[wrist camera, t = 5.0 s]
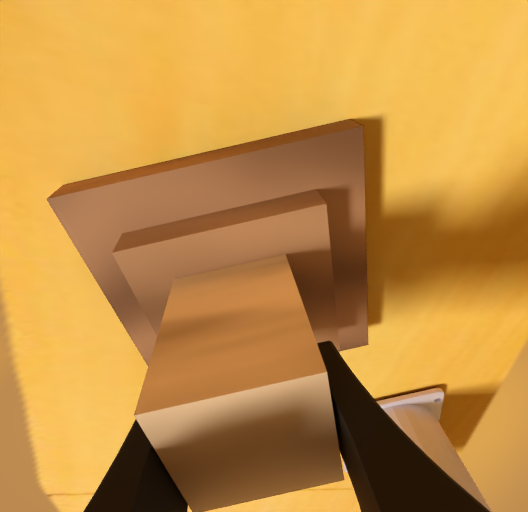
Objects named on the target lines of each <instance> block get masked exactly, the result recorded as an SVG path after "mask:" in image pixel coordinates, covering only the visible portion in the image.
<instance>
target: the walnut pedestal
mask: <svg viewBox="0 0 528 512" xmlns="http://www.w3.org/2000/svg"><path fill="white" fill-rule="evenodd" d="M47 201H48V202H49V204H50V206H51V207H52V209H53V211H54V212H55V214H56V216H57V217H58V219H59V220H60V222H61V224H62V225H63V227H64V229H65V230H66V232H67V234H68V235H69V237H70V239H71V240H72V242H73V244H74V245H75V247H76V248H77V250H78V252H79V253H80V255H81V257H82V258H83V260H84V262H85V263H86V265H87V267H88V268H89V270H90V271H91V273H92V275H93V276H94V278H95V280H96V281H97V283H98V285H99V286H100V288H101V290H102V291H103V293H104V295H105V296H106V298H107V299H108V301H109V303H110V304H111V306H112V308H113V309H114V311H115V313H116V314H117V316H118V318H119V319H120V321H121V322H122V324H123V326H124V327H125V329H126V331H127V332H128V334H129V336H130V337H131V339H132V341H133V342H134V344H135V346H136V347H137V349H138V350H139V352H140V354H141V355H142V357H143V359H144V360H145V362H146V364H147V365H148V366H149V363H150V359H151V356H152V353H153V349H154V346H155V342H156V339H157V335H158V332H159V329H160V325H161V322H162V318H163V315H164V312H165V308H166V305H167V301H168V298H169V295H170V291H171V288H172V284H173V281H174V280H175V279H179V278H184V277H188V276H192V275H197V274H201V273H205V272H210V271H214V270H219V269H223V268H227V267H232V266H236V265H240V264H245V263H249V262H254V261H258V260H262V259H267V258H271V257H275V256H280V255H284V254H286V257H287V260H288V263H289V265H290V268H291V271H292V274H293V277H294V280H295V282H296V285H297V288H298V291H299V294H300V297H301V300H302V302H303V305H304V308H305V311H306V314H307V317H308V319H309V322H310V325H311V328H312V331H313V334H314V336H315V339H316V342H317V343H320V342H325V341H331V342H333V344H334V346H335V347H336V349H337V350H338V351H343V350H347V349H352V348H356V347H361V346H365V345H368V309H367V263H366V217H365V171H364V126H362V125H360V124H358V123H356V122H354V121H352V120H350V119H348V120H344V121H339V122H335V123H331V124H326V125H322V126H318V127H313V128H309V129H305V130H300V131H296V132H292V133H287V134H283V135H279V136H274V137H270V138H265V139H261V140H257V141H252V142H248V143H244V144H239V145H235V146H231V147H226V148H222V149H218V150H213V151H209V152H205V153H200V154H196V155H192V156H187V157H183V158H179V159H174V160H170V161H166V162H161V163H157V164H153V165H148V166H144V167H139V168H135V169H131V170H126V171H122V172H118V173H113V174H109V175H105V176H100V177H96V178H92V179H87V180H83V181H79V182H74V183H70V184H66V185H63V186H61V187H60V188H59V189H58V190H57V191H55V192H54V193H53V194H52V195H51V196H50V197H48V198H47Z"/></svg>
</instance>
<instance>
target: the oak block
mask: <svg viewBox="0 0 528 512" xmlns="http://www.w3.org/2000/svg"><path fill="white" fill-rule="evenodd" d="M134 416H135V418H136V420H137V421H138V423H139V425H140V426H141V428H142V430H143V431H144V433H145V435H146V436H147V438H148V439H149V441H150V443H151V444H152V446H153V448H154V449H155V451H156V453H157V454H158V456H159V458H160V459H161V461H162V463H163V464H164V466H165V467H166V469H167V471H168V472H169V474H170V476H171V477H172V479H173V481H174V482H175V484H176V486H177V487H178V489H179V490H180V492H181V494H182V495H183V497H184V499H185V500H186V502H187V504H188V505H189V507H190V509H191V510H192V512H204V511H208V510H213V509H217V508H222V507H226V506H231V505H235V504H239V503H244V502H248V501H253V500H257V499H262V498H266V497H271V496H275V495H280V494H284V493H288V492H293V491H297V490H302V489H306V488H311V487H315V486H320V485H324V484H329V483H333V482H337V481H342V480H344V476H343V469H342V463H341V457H340V451H339V444H338V438H337V432H336V425H335V419H334V413H333V406H332V400H331V394H330V388H329V381H328V375H327V370H326V368H325V365H324V362H323V359H322V356H321V353H320V351H319V348H318V345H317V342H316V339H315V336H314V334H313V331H312V328H311V325H310V322H309V319H308V317H307V314H306V311H305V308H304V305H303V302H302V300H301V297H300V294H299V291H298V288H297V285H296V282H295V280H294V277H293V274H292V271H291V268H290V265H289V263H288V260H287V257H286V254H284V255H280V256H275V257H271V258H267V259H262V260H258V261H254V262H249V263H245V264H240V265H236V266H232V267H227V268H223V269H219V270H214V271H210V272H205V273H201V274H197V275H192V276H188V277H184V278H179V279H175V280H174V281H173V284H172V288H171V291H170V295H169V298H168V301H167V305H166V308H165V312H164V315H163V318H162V322H161V325H160V329H159V332H158V335H157V339H156V342H155V346H154V349H153V353H152V356H151V359H150V363H149V366H148V370H147V373H146V376H145V380H144V383H143V387H142V390H141V393H140V397H139V400H138V404H137V407H136V411H135V414H134Z"/></svg>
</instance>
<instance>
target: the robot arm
mask: <svg viewBox="0 0 528 512" xmlns="http://www.w3.org/2000/svg"><path fill="white" fill-rule="evenodd" d="M317 345H318V348H319V351H320V353H321V356H322V359H323V362H324V365H325V368H326V370H327V375H328V381H329V388H330V394H331V400H332V406H333V413H334V419H335V425H336V432H337V438H338V444H339V450H340V453H341V455H342V458H343V466H344V470H345V472H347V473H348V474H349V477H350V479H351V482H352V485H353V487H354V490H355V493H356V496H357V499H358V502H359V505H360V509H361V512H492V511H491V509H490V508H489V506H488V504H487V503H486V501H485V499H484V498H483V496H482V494H481V493H480V491H479V489H478V487H477V486H476V484H475V482H474V481H473V479H472V478H471V476H470V474H469V472H468V471H467V469H466V467H465V466H464V464H463V462H462V461H461V459H460V457H459V455H458V454H457V452H456V450H455V449H454V447H453V445H452V444H451V442H450V440H449V439H448V437H447V435H446V434H445V432H444V430H443V429H442V427H441V425H440V423H439V420H440V415H441V410H442V405H443V400H444V395H445V394H444V392H443V390H442V389H441V388H433V389H429V390H424V391H420V392H416V393H411V394H407V395H402V396H398V397H393V398H389V399H384V400H380V401H375V399H374V398H373V397H372V396H371V395H370V393H369V392H368V391H367V390H366V389H365V387H364V386H363V385H362V384H361V383H360V381H359V380H358V379H357V377H356V376H355V375H354V373H353V372H352V371H351V369H350V368H349V367H348V365H347V364H346V362H345V361H344V360H343V358H342V357H341V355H340V354H339V352H338V350H337V349H336V347H335V346H334V344H333V342H331V341H325V342H320V343H317ZM187 508H188V504H187V502H186V500H185V499H184V497H183V495H182V494H181V492H180V490H179V489H178V487H177V486H176V484H175V482H174V481H173V479H172V477H171V476H170V474H169V472H168V471H167V469H166V467H165V466H164V464H163V463H162V461H161V459H160V458H159V456H158V454H157V453H156V451H155V449H154V448H153V446H152V444H151V443H150V441H149V439H148V438H147V436H146V435H145V433H144V431H143V430H142V428H141V426H140V425H139V423H138V421H137V420H135V422H134V424H133V426H132V428H131V430H130V431H129V433H128V435H127V437H126V439H125V441H124V443H123V445H122V447H121V448H120V450H119V452H118V454H117V456H116V458H115V460H114V461H113V463H112V465H111V466H110V468H109V470H108V472H107V473H106V475H105V477H104V479H103V480H102V482H101V484H100V485H99V487H98V489H97V491H96V492H95V494H94V496H93V497H92V499H91V500H90V502H89V504H88V505H87V507H86V508H85V510H84V512H187Z"/></svg>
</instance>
